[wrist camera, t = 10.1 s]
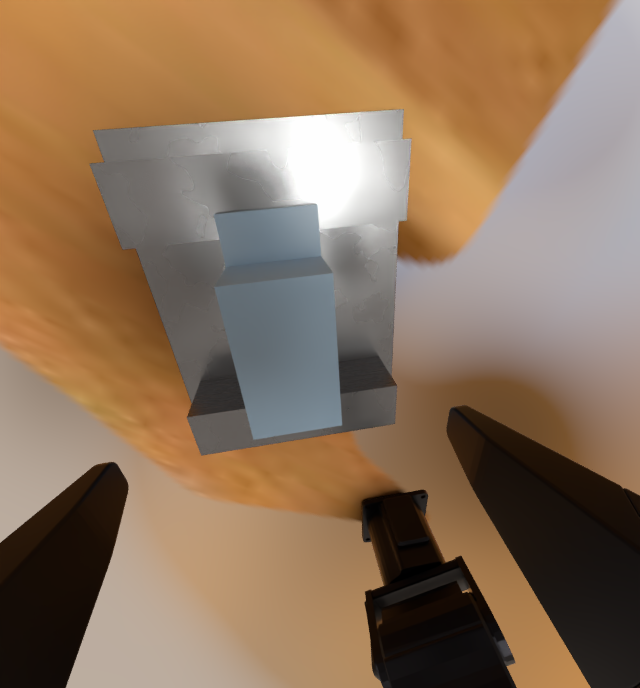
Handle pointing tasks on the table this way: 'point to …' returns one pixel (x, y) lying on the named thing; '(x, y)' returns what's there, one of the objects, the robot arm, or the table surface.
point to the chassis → (259, 193)
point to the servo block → (280, 318)
